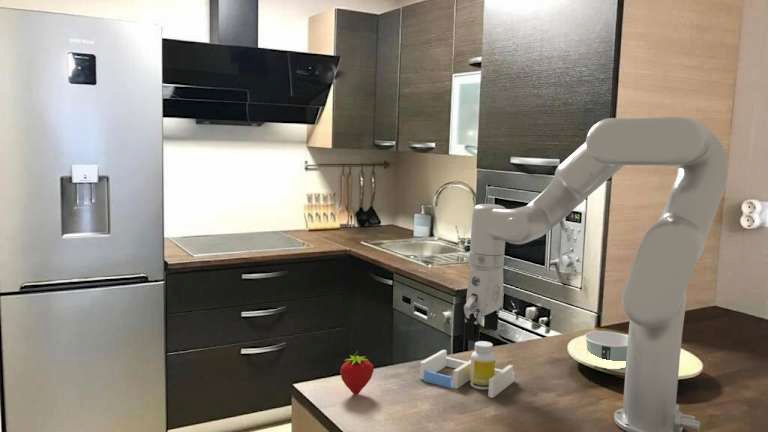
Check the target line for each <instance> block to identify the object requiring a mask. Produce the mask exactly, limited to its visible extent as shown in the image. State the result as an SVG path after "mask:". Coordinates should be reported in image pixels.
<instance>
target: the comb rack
mask: <svg viewBox="0 0 768 432" xmlns="http://www.w3.org/2000/svg"><path fill="white" fill-rule="evenodd" d="M447 352H448V351H447V350H446V349H441V350H439V351H438V352H436V353H435V354H433V355H431V356H429V357H427V358H425V359H423V360H422V361H420V362H419V363H420V364H419V379H420V380H423V382H425V383H429V384H434V385H437V386H441V387H445V388H449V389H451V388H453V389H459V388H460V387H462V386H463V385H464V384H466V383H467V382H470V371H471V359H469V360H468V361H466V360H462V359H457V358H453V357H449V356H447V355H448V353H447ZM446 367H449V368H452V369H453V374H452V375H453V376H451V375H450V376H449V375H446V374H443V373H442V374H441V373H438V372H439V371H440V370H443V369H444V368H446ZM515 375H516V374H515V372H514V365H513V364H508V365H506V366H505V367H504V368H503V369H500V368H496V367H495V375H494V376H493V377H491V378H490V379H489V389H488V394H487V395H488V398H492V399H493V398H494V397H496V396H498V394H500V393H501V392H502V391H503V390H505V389H507V387H509V386H510V385H511V384H513V383H514V382H515Z"/></svg>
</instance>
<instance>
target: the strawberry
mask: <svg viewBox="0 0 768 432" xmlns="http://www.w3.org/2000/svg"><path fill="white" fill-rule="evenodd" d="M357 353H358V350H357V351H356V352H355V353H354V354H353V355H351V354H349V357H350V358H346V359H344V361H345V362H344V363H343V364H342V365H341V367H340V371H339V374H340V377H341V380H342V382H343V383H344V385H345V386H346V387H347V388H348V390H349V391H350V392H351V393H352V394H353V395H358V394H360V392H362V390H363V389H364V388H365V386H367V384H368V383H369V382H370V380H371V379H372V376H373V374H374V371H375V369H374V365H373V363H371V362H370V361H369V359H368V358H367V355H365V356H359V355H356V354H357Z"/></svg>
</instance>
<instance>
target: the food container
mask: <svg viewBox="0 0 768 432" xmlns="http://www.w3.org/2000/svg"><path fill="white" fill-rule="evenodd" d="M583 337H584V339H585V342H586V349H587V350H588V351H589V352H590V353H591V354H593V355H595V356H597V357H599V358H602V359H606V360H612V361H626V358H627V345H628V335H626V334H624V333H623V334H622V333H619V332H614V331H604V330H599V331H598V330H597V331H589V332H587V333H585V334H584V336H583ZM588 351H587V352H588Z"/></svg>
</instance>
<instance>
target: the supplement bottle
mask: <svg viewBox="0 0 768 432" xmlns="http://www.w3.org/2000/svg"><path fill="white" fill-rule="evenodd" d="M493 346H494V344H493V343H492V342H490V341H487V340H486V341H485V340H484V341H483V340H479V341H478V342H475V343H474V350H475V351H473V352H471V355H470V360H471V371H470V380H469V385H470V386H471V387H472V388H474V389H477V390H481V391H482V390H483V391H484V390H489V379H490V378H491V377H493V376H494V375H495V368H496V356H495V354H494V353H493V351H494V347H493Z"/></svg>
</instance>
